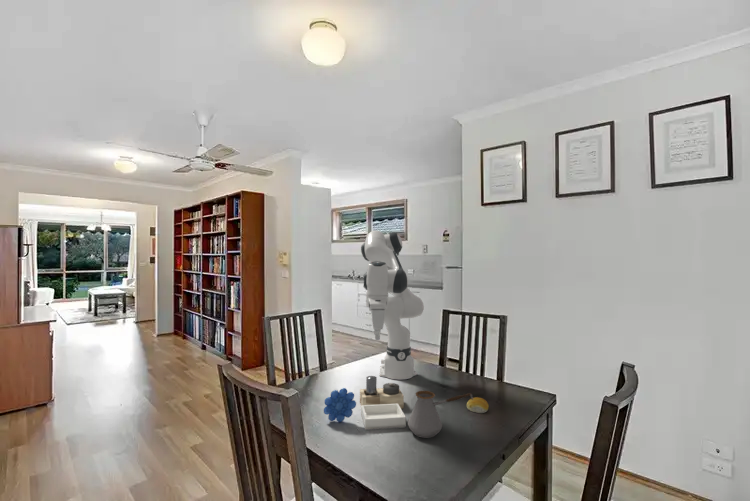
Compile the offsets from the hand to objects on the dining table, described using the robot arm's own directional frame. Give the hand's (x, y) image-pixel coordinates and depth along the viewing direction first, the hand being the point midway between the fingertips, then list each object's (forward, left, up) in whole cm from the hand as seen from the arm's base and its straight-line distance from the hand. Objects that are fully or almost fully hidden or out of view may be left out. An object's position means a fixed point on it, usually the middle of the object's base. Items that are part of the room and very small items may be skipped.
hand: (377, 337), depth 148 cm
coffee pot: (+27, +17, -27) cm, 42 cm away
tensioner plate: (0, +2, -27) cm, 27 cm away
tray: (+14, 0, -27) cm, 30 cm away
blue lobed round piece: (+12, -15, -27) cm, 33 cm away
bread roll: (+8, +39, -27) cm, 48 cm away
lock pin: (0, -2, -27) cm, 27 cm away
